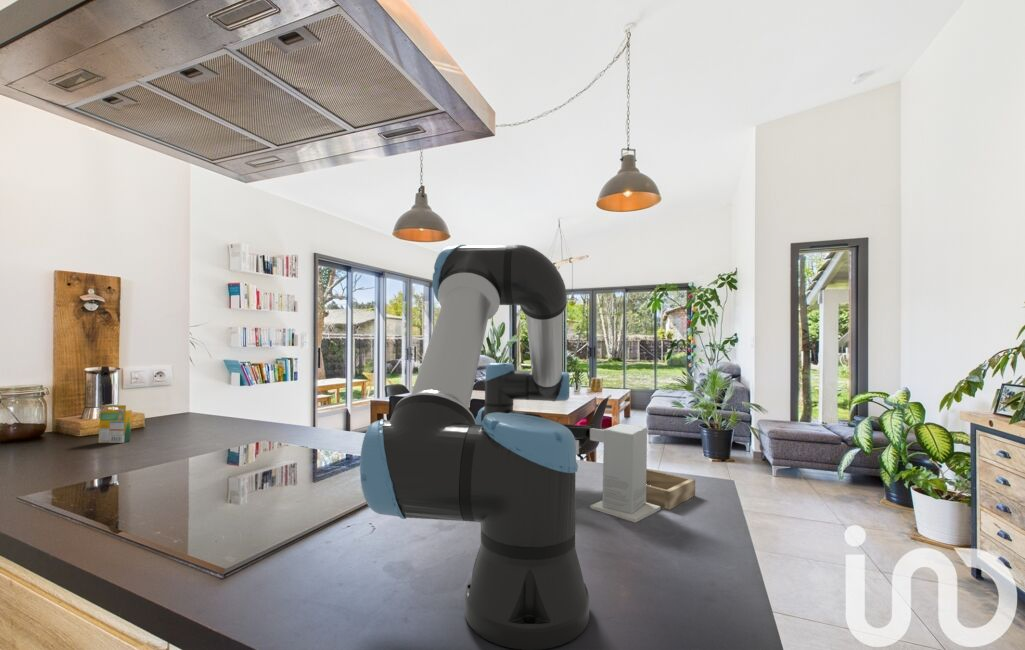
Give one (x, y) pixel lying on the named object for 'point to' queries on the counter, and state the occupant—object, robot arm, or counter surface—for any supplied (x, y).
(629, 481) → the skincare box
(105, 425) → the crayon box
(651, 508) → the coaster
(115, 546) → the counter surface
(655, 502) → the pocket
